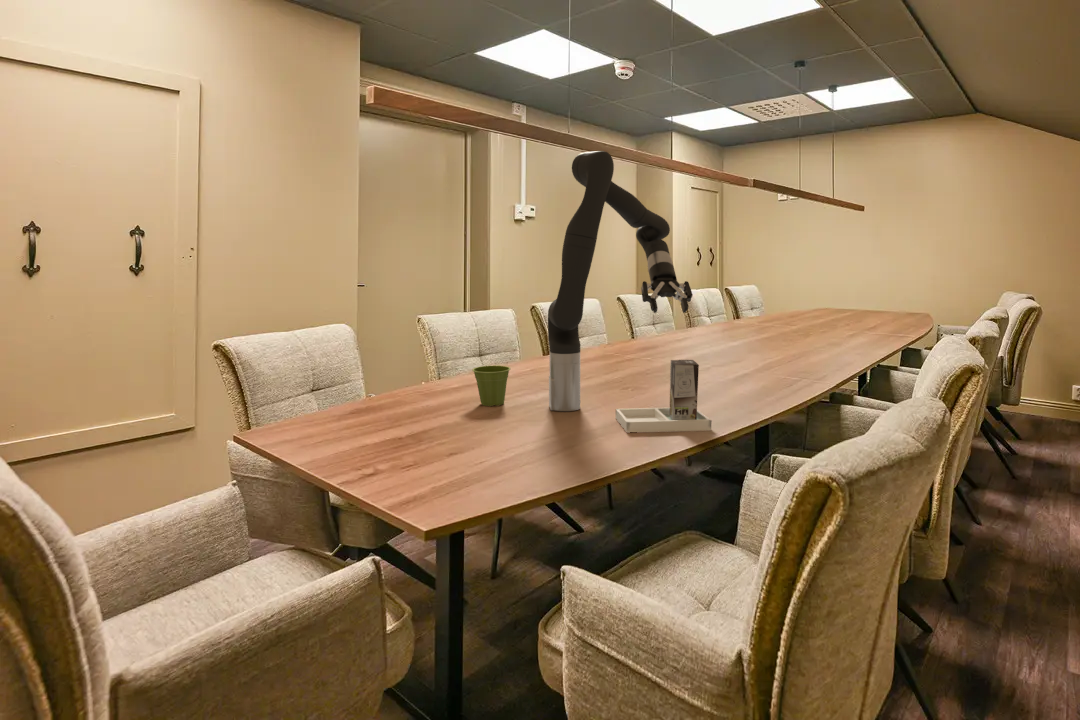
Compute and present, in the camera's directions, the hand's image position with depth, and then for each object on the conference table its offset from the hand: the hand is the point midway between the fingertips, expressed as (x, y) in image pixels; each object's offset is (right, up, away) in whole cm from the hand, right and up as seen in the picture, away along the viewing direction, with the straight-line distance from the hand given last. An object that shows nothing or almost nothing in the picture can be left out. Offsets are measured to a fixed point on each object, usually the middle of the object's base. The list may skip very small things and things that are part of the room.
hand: (670, 310), depth 175 cm
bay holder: (-4, -31, -8) cm, 33 cm away
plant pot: (-52, -28, +17) cm, 62 cm away
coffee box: (+2, -31, -8) cm, 32 cm away
